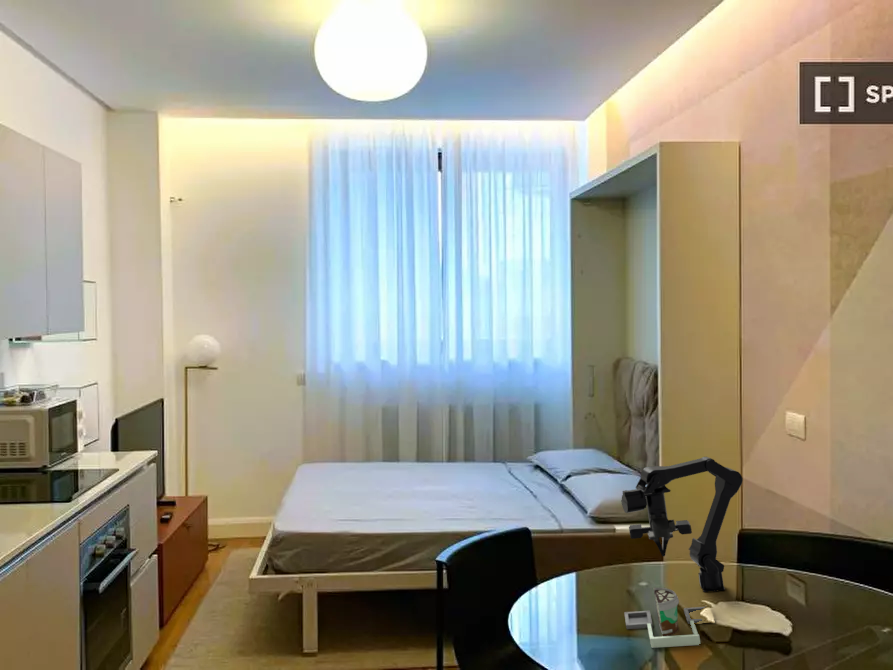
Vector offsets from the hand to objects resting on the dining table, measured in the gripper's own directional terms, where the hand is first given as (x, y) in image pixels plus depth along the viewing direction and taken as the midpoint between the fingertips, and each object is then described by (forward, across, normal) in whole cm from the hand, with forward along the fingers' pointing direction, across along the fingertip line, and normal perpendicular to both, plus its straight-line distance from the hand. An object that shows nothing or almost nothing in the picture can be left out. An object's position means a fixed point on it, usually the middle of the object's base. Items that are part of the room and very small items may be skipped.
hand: (663, 556), depth 237 cm
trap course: (+13, -2, -23) cm, 27 cm away
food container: (+13, -2, -23) cm, 26 cm away
